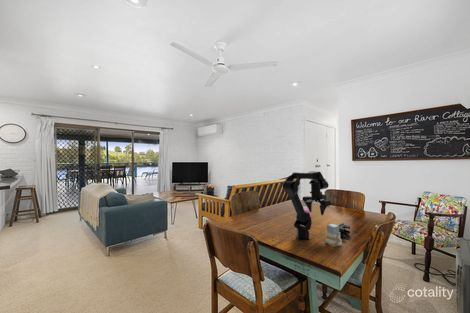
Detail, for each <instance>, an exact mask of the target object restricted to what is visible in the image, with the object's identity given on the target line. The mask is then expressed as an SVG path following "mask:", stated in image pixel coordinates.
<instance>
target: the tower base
mask: <svg viewBox="0 0 470 313" xmlns="http://www.w3.org/2000/svg"><path fill="white" fill-rule="evenodd" d="M324 240H325V241H324V242H325V243H326V244H328V245H329V246H331V247H333V248H335V247H340V246H342V244H343V243H342V241H343V239H341V238H340V239H338V240H336V241H334V240H331V239H328V238H326V236H325V239H324Z"/></svg>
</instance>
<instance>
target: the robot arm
mask: <svg viewBox="0 0 470 313" xmlns="http://www.w3.org/2000/svg"><path fill="white" fill-rule="evenodd" d="M305 179H306V180H307V179H308V180H310V181H309V183H308V184H310V191H309V194H311V195H310V196H309V195H306V196H302V197H301V198H300V196H299V194H298V192H299V186H300V184H301V180H305ZM328 188H329V182H328V181H327V179H326V178H324V175H323V173H322V172H321V171H314V170H313V171H311V170H310V171H308V172H295V171H294V172H292V173H291V175H290V176H288V177H287V178H285V180H284V182H283V183H282V189H283V190H284V192H285V193H286V194H287V195H288V196H289V198H290V201H291V203H292V205H293V208H294V210H295V213H296V216H295V218H296V220H295V222H294V223H293V227H294V228H296V235H295V238H297V240H298V241H309V240H310V230H311V229H312V228H311V227H312V224H313V222H312V221H313V220H312V217H311V214H310V213H312V210H313V209H312V204H313V202H315V203H318V204H319V209H320V210H319V212H320V215H321V216H324V213H325V211H326V209H327V207H330V206H332V202H331V200H329V199H327V196H328V195H326V194H323V192H322V191H321V190H325V189H328ZM301 199H302V201H301ZM302 202H303V203H304V204H305V206H306V207H307V209H308V211H309V212H306V211H305V208H304V206H303V204H302Z"/></svg>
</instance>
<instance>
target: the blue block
mask: <svg viewBox="0 0 470 313" xmlns="http://www.w3.org/2000/svg"><path fill="white" fill-rule="evenodd" d="M338 225H339V224H335V223H329V224H327V225H326V231H327V232H329V233H332V234H337V233H339V226H338Z"/></svg>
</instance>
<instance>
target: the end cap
mask: <svg viewBox="0 0 470 313" xmlns="http://www.w3.org/2000/svg"><path fill="white" fill-rule="evenodd" d="M337 225H338V226H339V232H340V239H342V240H344V239H346V238H348V237H350V235H351V230H350V229H351V227H350V225H345V224H344V223H343V222H342V223H339V224H337Z"/></svg>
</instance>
